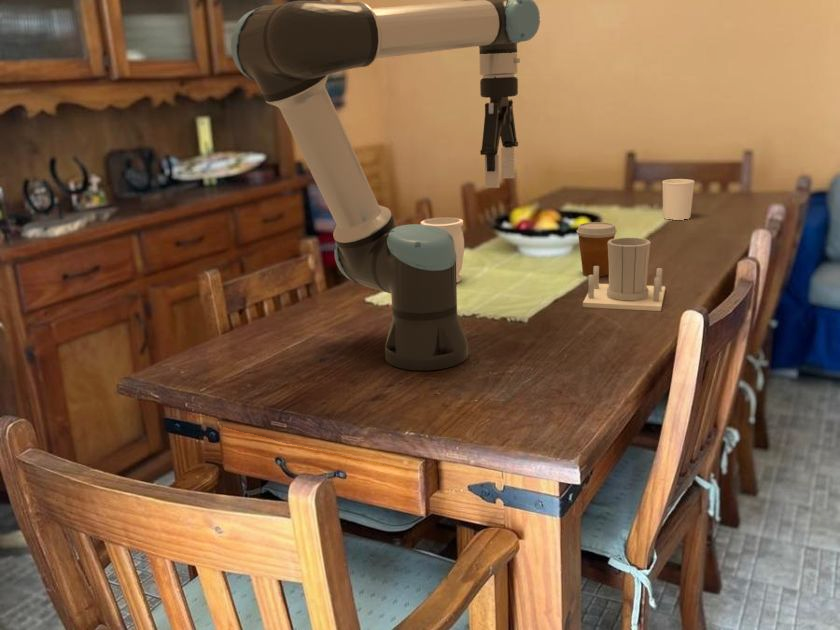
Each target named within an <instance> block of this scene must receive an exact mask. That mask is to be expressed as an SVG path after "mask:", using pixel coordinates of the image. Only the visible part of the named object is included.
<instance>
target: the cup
mask: <svg viewBox="0 0 840 630" xmlns="http://www.w3.org/2000/svg"><path fill="white" fill-rule="evenodd" d="M651 244H652V243H651V241H650V240H649V239H647V238H641V237H617V238H615V237H614V239H611V240H609V241H608V258H609V274H608V284H609V287H608V288H607V295H608V296H609V297H610V298H612V299H615V300H621V301H636V300H642V299H644V298H646V297H647V296H648V292H649V289H648V288H647V286H648V283H647V282H648V268H649V261H650V250H651V249H650V248H651Z"/></svg>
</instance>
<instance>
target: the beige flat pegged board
mask: <svg viewBox="0 0 840 630" xmlns="http://www.w3.org/2000/svg"><path fill="white" fill-rule="evenodd" d="M653 278H654V279H653V285H647V288H648V289H649V292H648V296H647V297H646V298H644V299H642V300H636V301H621V300H615V299H612V298H610V297H609V296H608V295H607V288H608V287H609V283H600V277H599V266H594V271H593V275H589V276H588V291H587V294H586V295H585V298H584V300H583V301H582V308H589V309H590V308H593V309H594V308H595V309H608V310H609V309H612V310H613V309H614V310H632V311H649V312H650V311H651V312H652V311H654V312H661V311H662V308H663V302H664V298H665V292H666V286H664V285H663V268H662V267H658V268H656V276H655V277H653Z"/></svg>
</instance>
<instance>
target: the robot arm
mask: <svg viewBox="0 0 840 630" xmlns="http://www.w3.org/2000/svg"><path fill="white" fill-rule="evenodd" d="M540 13H541V12H540V10H539V8H538V5H537V3H536V2H535V1H534V0H464V1H452V2H451V1H450V2H438V3H424V4H411V5H398V6H396V5H395V6H394V5H393V6H383V7H380V6H379V7H371V6H369V5H368V4H367V3H366V2H362V1H356V2H337V1H336V2H334V1H331V2H330V1H321V0H295V1H289V2H286V3H279V4H274V5H273V4H271V5H270V4H268V5H267V4H266V5H263V6H260V7H257V8H255V9H252V10H250V11H248V12H247V13H245V14H244V15H243V16H242V17H240V19H238V21H237V23H236V24H235V26H234V28H233V31H232V36H231V40H230V50H231V51H230V52H231V56H232V60H233V62H234V65H235V66H236V68H237V69H238V70H239V72H240V73H241V74H242V75H243V76H244V77H246V78H247V79H249V80H251V81H254V82H256V85H257V86H258V88H259V91H260V93H261V95H262V96H263V99H264V100H265V102H266V104H268V105H271V106H274V107H277V108H278V109H279V111H280V112H281V114H282V117H283V119H284V121H285V122H286V125H287V127H288V129H289V131H290V132H291V135H292V137H293V139H294V141H295V143H296V145H297V147H298V149H299V151H300V152H301V155H302V157H303V159H304V161H305V163H306V166H307V168H308V170H309V171H310V174H311V175H312V178H313V179H314V182H315V184H316V186H317V188H318V190H319V193H321V196H322V198H323V200H324V202H325V204H326V206H327V208H328V210H329V213H330V215H331V216H332V218H333V221H334V222H335V224H336V225H335V228H334V231H333V232H332V235H333V239H334V241H335V249H333V251H334V255H333V256H334V260H335V263H336V266H337V268H338V270H339V271H340V272H341V274H342V275H343V276H345V278H347V279H348V280H350V281H352V282H354V284H357V285H359V286H361V287H367V288H371V289H374V290H377V291H379V292H380V291H381V292H385V293H387V294H391V308H392V309H391V311H392V312H391V313H392V319H391V323H390V326H389V330H388V334H387V338H386V342H385V345H384V357H385V361H386V362H387V363H388V364H389V365H390V366H393V367H395V368H397V369H398V368H399V369H403V370H409V371H435V370H442V369H448V368H451V367H454V366H457V365H459V364H461V363H463V362H465V361H467V359H468V358H469V343H468V340H467V337H466V334H465V332H464V329H463V327H462V324H461V321H460V319H459V315H458V300H457V299H458V298H457V297H458V296H457V295H458V291H457V290H458V289H457V287H458V286H457V283H456V252H455V246H454V239H453V237H452V235H451V234H450V233H449V232H447V231H446V230H444V229H441V228H439V227H435V226H430V225H426V226H424V225H421V223H420V224H419V223H417V224H415V223H413V224H412V223H411V224H403V225H399V226H398V225H397V222H396V220H395V218H394V216H393V214H392V212H391V210H390V208H388V207H386V206H383V205H380V204H379V203H378V200H377V198H376V196H375V194H374V191H373V189H372V187H371V185H370V183H369V181H368V178H367V176H366V174H365V172H364V170H363V167H362V165H361V163H360V161H359V159H358V156H357V154H356V151H355V150H354V147H353V145H352V143H351V141H350V139H349V137H348V134H347V132H346V130H345V128H344V125H343V123H342V121H341V118H340V117H339V115H338V112H337V110H336V108H335V105H334V103H333V101H332V99H331V97H330V95H329V93H328V89H327V87H326V83H327V81H328V78H329V76H330V75H331V74H336V73H340V72H343V71H348V70H352V69H357V68H358V69H359V68H365V67H369V66H371V65H373V64H374V62H375V61H376V59H383V58H390V57H401V56H409V55H417V54H424V53H433V52H440V51H441V52H442V51H450V50H457V49H458V50H459V49H466V48H476V47H478V49H479V50H478V51H479V75H480V76H482V78H481V79H480V83H479V84H480V85H479V88H480V89H479V90H480V92H479V93H480V94H479V95H480V96H481V98H486V99H487V98H489V102H485V105H484V121H483V123H484V124H483V132H482V133H483V134H482V142H481V149H480V150H479V152H480V153H479V154H480V156H484V174H485V175H484V178H485V179H484V181H485V189H489V188H490V189H498V188H500V186H501V185H500V181H501V180H500V167H501V179H515V178H516V177H515V169H516V168H515V167H516V166H515V147H518V146H519V141H518V139H517V133H516V124H515V116H514V106H513V104H514V101H513V99H509V98H511V97H516V96H517V95H518V94H519V86H518V85H519V82H518V81H519V80H518V77H516V76H515V75H516V74H518V64H520V63H521V58H520V57H518V44H519V43H521V42H522V43H523V42H527V41H528V42H529V41H530V40H532V39H533V38H534V37H535V35H537V33H538V30H539V28H540V23H541V21H540V19H541V17H540ZM500 141H501V145H502V147H500V154H499V153H498V151H499V146H500V145H499V144H500ZM500 162H501V163H500ZM500 164H501V166H500Z"/></svg>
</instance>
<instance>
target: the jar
mask: <svg viewBox="0 0 840 630" xmlns="http://www.w3.org/2000/svg"><path fill="white" fill-rule="evenodd" d="M420 225H424V226H426V225H430V226H435V227H439V228H441V229H444V230H446V231H447V232H449V233H450V234H451V235H452V237H453V239H454V246H455V252H456V284H457V283H460V282H461V281H462V277H461V275H460V272H461V270H462V269H463V268H462V267H463V260H464V253H465V238H464V232H463V228H462V227H463V226H464V220H463V219H462V218H458V217H446V216H445V217H434V218H433V217H432V218H427V219H424V220H422V221H420Z"/></svg>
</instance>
